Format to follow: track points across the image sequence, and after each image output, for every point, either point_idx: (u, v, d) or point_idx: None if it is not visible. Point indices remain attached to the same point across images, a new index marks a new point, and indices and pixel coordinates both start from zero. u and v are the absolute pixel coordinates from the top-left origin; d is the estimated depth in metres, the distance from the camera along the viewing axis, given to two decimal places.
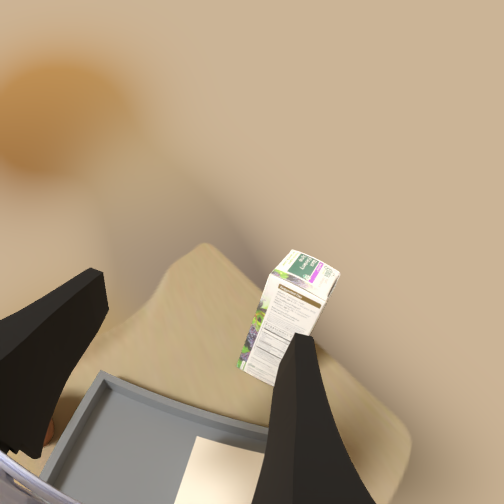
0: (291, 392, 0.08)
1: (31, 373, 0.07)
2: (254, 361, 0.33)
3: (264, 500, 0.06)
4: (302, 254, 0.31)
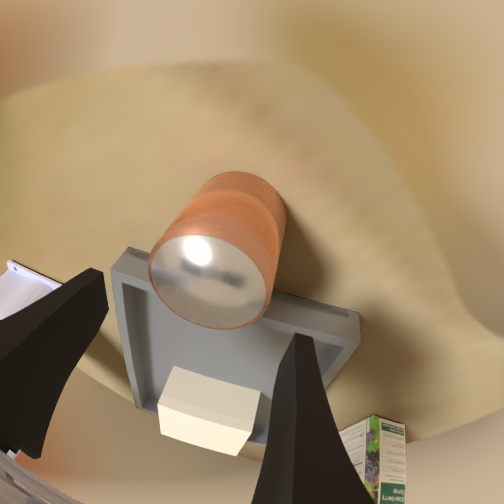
0: (291, 392, 0.08)
1: (31, 373, 0.07)
2: (360, 442, 0.26)
3: (264, 500, 0.06)
4: None
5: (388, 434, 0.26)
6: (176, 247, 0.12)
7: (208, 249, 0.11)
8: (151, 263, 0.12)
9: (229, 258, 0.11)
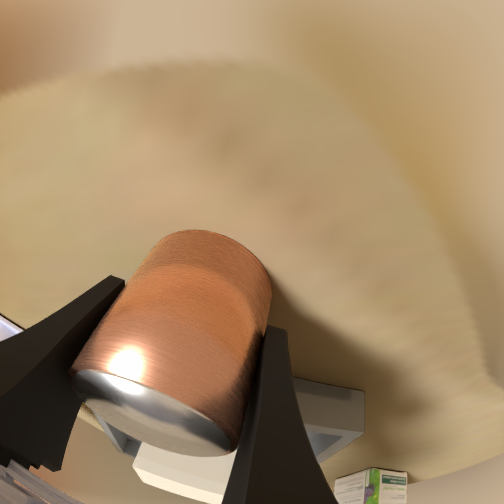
0: (259, 384, 0.08)
1: (54, 387, 0.07)
2: (358, 495, 0.21)
3: (230, 493, 0.06)
4: None
5: (389, 486, 0.21)
6: (95, 379, 0.07)
7: (136, 394, 0.06)
8: (73, 384, 0.07)
9: (168, 409, 0.06)
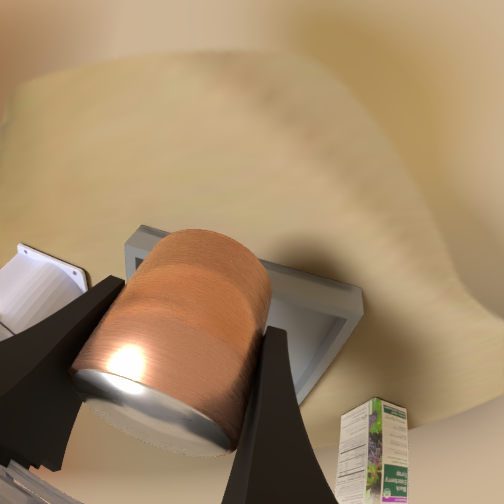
0: (259, 384, 0.08)
1: (54, 387, 0.07)
2: (363, 424, 0.27)
3: (230, 493, 0.06)
4: None
5: (390, 417, 0.27)
6: (95, 378, 0.07)
7: (136, 394, 0.06)
8: (73, 384, 0.07)
9: (168, 408, 0.06)
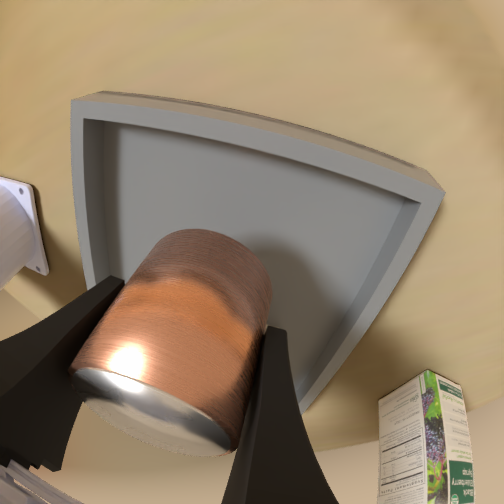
0: (259, 384, 0.08)
1: (54, 387, 0.07)
2: (414, 408, 0.18)
3: (230, 493, 0.06)
4: None
5: (448, 395, 0.18)
6: (95, 378, 0.07)
7: (135, 392, 0.06)
8: (73, 383, 0.07)
9: (168, 407, 0.06)
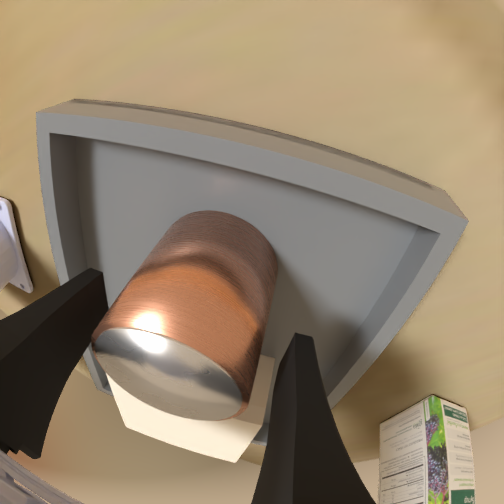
0: (291, 392, 0.08)
1: (31, 373, 0.07)
2: (417, 435, 0.16)
3: (264, 500, 0.06)
4: None
5: (452, 421, 0.16)
6: (119, 338, 0.08)
7: (158, 348, 0.07)
8: (95, 349, 0.09)
9: (187, 361, 0.08)
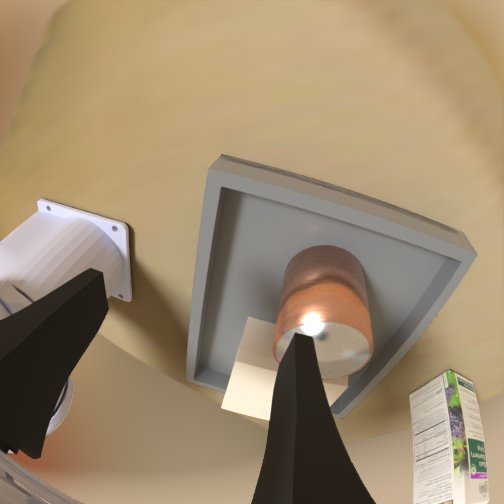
0: (291, 392, 0.08)
1: (31, 373, 0.07)
2: (439, 399, 0.23)
3: (264, 500, 0.06)
4: None
5: (464, 389, 0.23)
6: (306, 329, 0.14)
7: (334, 331, 0.14)
8: (278, 339, 0.15)
9: (348, 336, 0.14)
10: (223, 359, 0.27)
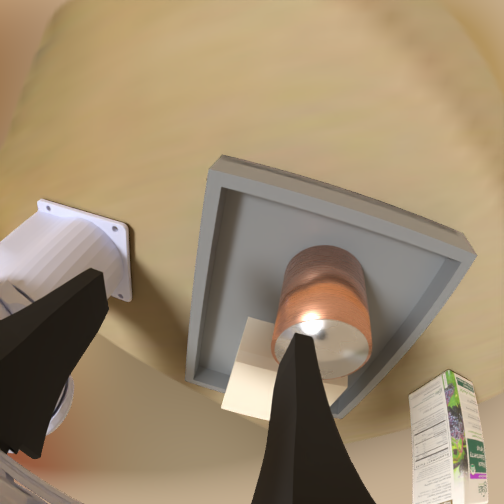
0: (291, 392, 0.08)
1: (31, 373, 0.07)
2: (438, 399, 0.23)
3: (264, 500, 0.06)
4: None
5: (463, 389, 0.23)
6: (304, 327, 0.14)
7: (332, 329, 0.14)
8: (277, 337, 0.15)
9: (347, 334, 0.14)
10: (223, 359, 0.27)
